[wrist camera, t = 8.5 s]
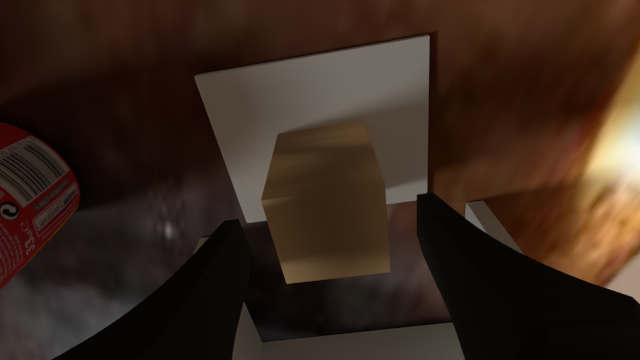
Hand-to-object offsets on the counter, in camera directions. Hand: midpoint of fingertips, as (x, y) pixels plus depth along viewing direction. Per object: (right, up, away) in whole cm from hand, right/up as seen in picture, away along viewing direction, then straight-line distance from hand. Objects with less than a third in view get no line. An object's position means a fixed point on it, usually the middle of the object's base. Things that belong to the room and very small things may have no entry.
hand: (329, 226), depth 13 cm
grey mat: (0, +4, +4) cm, 6 cm away
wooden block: (0, +3, +5) cm, 6 cm away
